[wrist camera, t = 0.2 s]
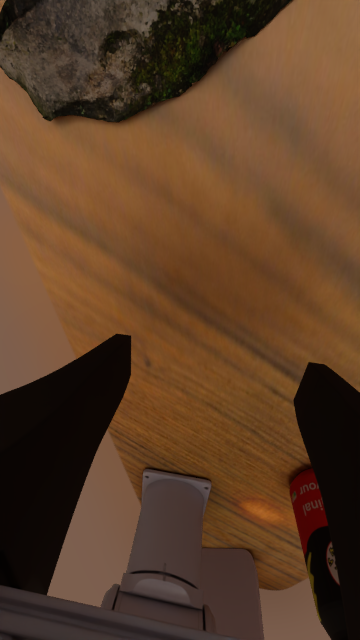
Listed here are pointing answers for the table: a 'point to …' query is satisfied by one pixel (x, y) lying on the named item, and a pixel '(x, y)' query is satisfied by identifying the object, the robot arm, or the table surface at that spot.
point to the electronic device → (232, 592)
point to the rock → (119, 49)
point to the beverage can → (318, 553)
